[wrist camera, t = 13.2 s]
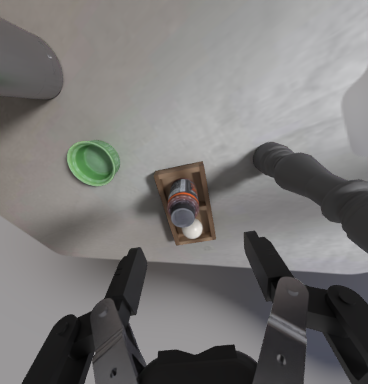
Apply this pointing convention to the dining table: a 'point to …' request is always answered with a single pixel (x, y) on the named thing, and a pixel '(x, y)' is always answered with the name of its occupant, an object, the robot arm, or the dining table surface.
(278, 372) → the robot arm
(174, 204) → the supplement bottle
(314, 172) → the grey turned candlestick
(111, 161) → the ramekin
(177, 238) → the holder
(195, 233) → the egg
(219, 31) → the dining table surface
